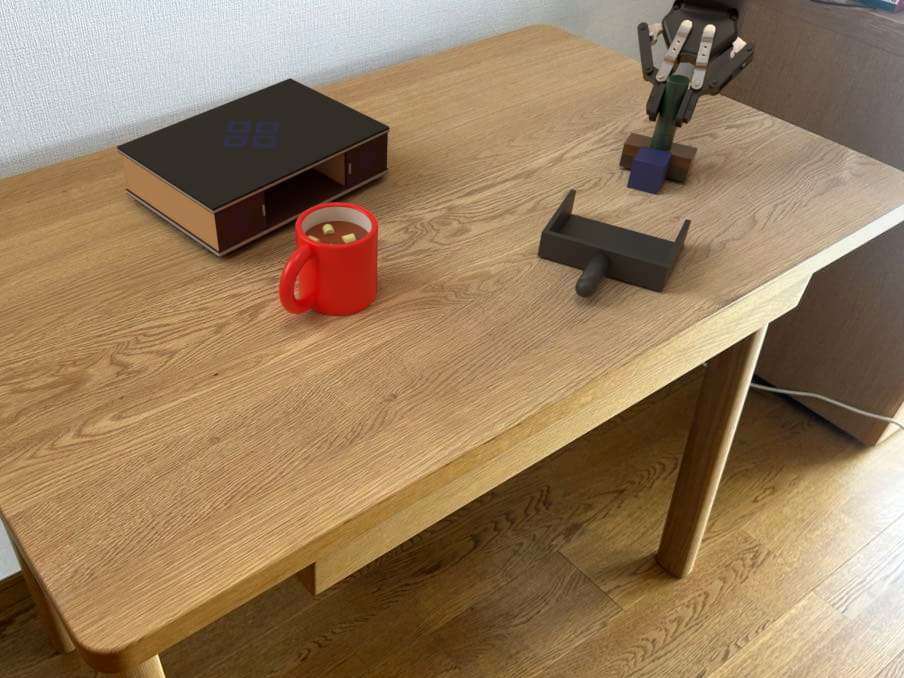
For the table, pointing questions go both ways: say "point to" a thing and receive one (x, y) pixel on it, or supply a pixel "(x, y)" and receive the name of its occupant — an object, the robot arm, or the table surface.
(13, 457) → the table surface
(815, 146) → the table surface
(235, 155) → the low tv stand
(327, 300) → the mug
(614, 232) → the dustpan
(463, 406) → the table surface
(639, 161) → the navy blue toy block
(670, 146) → the brush
